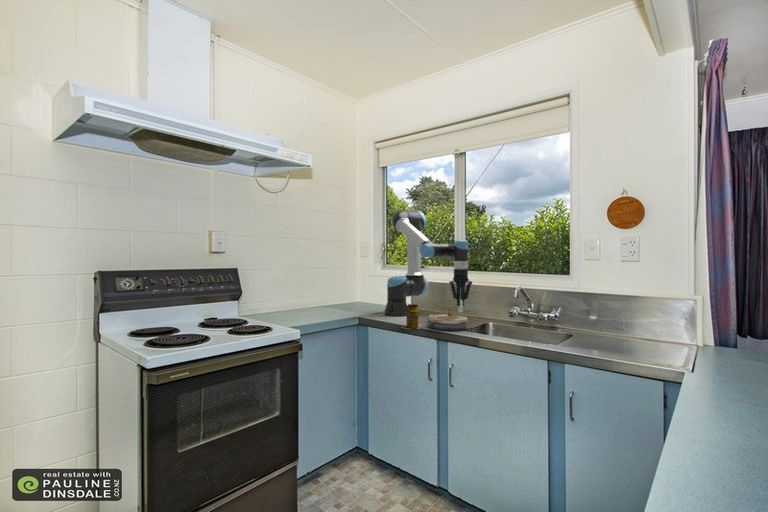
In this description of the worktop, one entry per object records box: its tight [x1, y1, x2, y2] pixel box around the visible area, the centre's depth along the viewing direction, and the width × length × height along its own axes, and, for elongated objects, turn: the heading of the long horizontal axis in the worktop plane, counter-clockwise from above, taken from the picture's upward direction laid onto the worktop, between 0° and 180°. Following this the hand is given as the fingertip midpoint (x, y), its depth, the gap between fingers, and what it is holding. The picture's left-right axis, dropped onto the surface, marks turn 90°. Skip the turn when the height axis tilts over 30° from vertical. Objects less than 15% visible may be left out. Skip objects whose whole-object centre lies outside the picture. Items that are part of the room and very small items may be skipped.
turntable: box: [428, 305, 469, 324], centre depth 205 cm, size 20×20×6 cm
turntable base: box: [427, 314, 469, 332], centre depth 205 cm, size 21×21×5 cm
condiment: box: [400, 303, 421, 331], centre depth 203 cm, size 7×8×12 cm
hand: (460, 311), depth 215 cm, fingers closed
